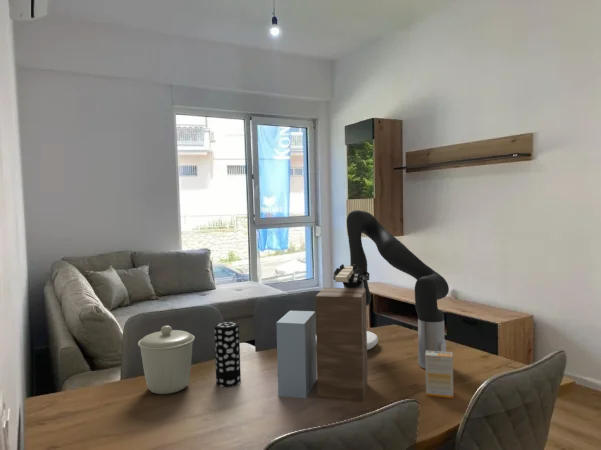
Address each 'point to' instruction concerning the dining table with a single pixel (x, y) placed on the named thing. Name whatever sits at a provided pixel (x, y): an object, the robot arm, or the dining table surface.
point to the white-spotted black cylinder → (227, 354)
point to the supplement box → (439, 373)
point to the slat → (344, 274)
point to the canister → (167, 360)
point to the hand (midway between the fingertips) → (348, 266)
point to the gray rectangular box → (296, 353)
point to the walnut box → (341, 343)
